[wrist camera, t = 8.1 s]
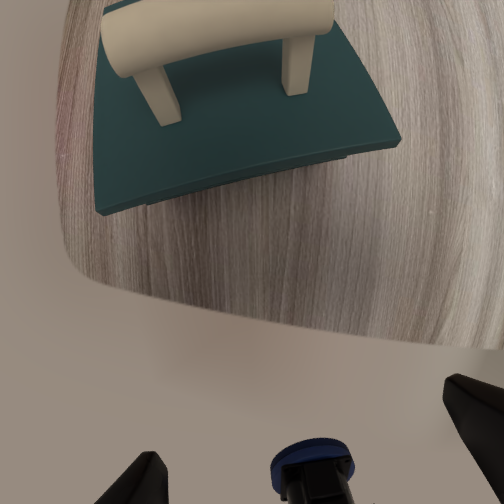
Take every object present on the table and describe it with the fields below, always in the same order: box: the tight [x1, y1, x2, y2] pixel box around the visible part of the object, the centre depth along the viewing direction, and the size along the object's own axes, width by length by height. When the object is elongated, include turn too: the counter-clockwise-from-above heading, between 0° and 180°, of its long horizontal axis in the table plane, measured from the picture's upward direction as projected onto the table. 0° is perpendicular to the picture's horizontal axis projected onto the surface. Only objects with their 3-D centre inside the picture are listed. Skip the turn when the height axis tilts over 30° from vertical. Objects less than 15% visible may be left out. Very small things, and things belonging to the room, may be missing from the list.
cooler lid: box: [93, 0, 401, 216], centre depth 8 cm, size 11×10×5 cm
